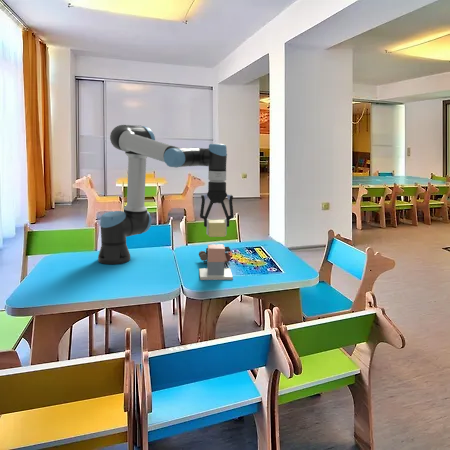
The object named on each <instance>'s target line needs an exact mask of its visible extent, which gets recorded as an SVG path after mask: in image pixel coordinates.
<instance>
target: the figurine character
mask: <svg viewBox="0 0 450 450" xmlns="http://www.w3.org/2000/svg"><path fill="white" fill-rule="evenodd" d="M224 247H225V262H224V264H225V263H228V262H230V261H231V254H230V252H231V251H232V250H231V249H230V247H229V246H224ZM198 257H199V259H200V260H201V261H203V264H204V265H205V264H206V265H207V257H208V247H207V248H205V250H201V251H199V252H198Z"/></svg>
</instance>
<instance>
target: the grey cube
mask: <svg viewBox="0 0 450 450" xmlns="http://www.w3.org/2000/svg"><path fill="white" fill-rule="evenodd" d="M206 261H207V262H206V263H207V264H206V266H207V267H206V268H207V271H208V275H224V268H225V263H224V262H208V257H207V260H206Z"/></svg>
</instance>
